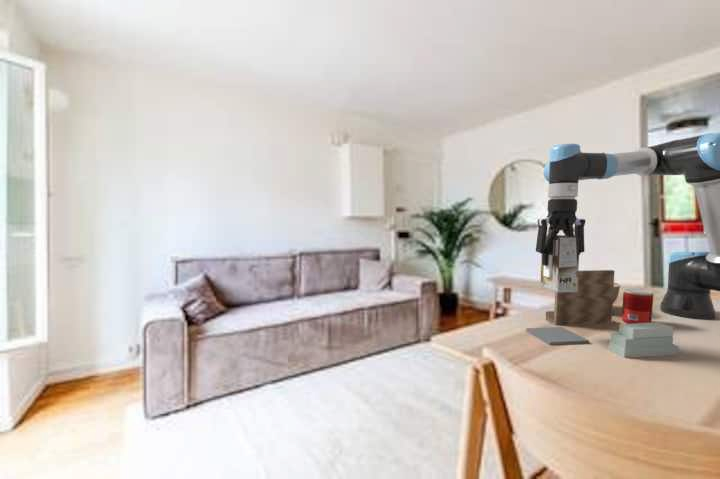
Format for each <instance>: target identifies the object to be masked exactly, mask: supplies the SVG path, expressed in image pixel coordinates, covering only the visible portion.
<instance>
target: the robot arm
mask: <svg viewBox="0 0 720 479" xmlns="http://www.w3.org/2000/svg"><path fill="white" fill-rule="evenodd" d="M549 155H550V156H549V161H548V163H546V165H545V166H544V168H543V177H544V178H545V180H546V181H547V182H548V192H547V197H548V198H549V199H548V200H547V213H548V214H547V216H546V217H545V218H539V219H537V226H538V229H537V237H536V245H535V252H536V253H539V254H540V255H541V258H542V265H544V274H543V276H546V277H551V276H552V256H553V255H549V254H550V252H551V249H552V247H553V237H554V236H557V235H559V233H560V231H562V233H563V234H564V235H565V236H574V237H580V247H579V256H580V255H581V253H582V254H583V253H584V252H585V226H586V225H585V224H586V219H585V218H578V217H577V216H576V213H577V211H578V200H577V199H576V198H577V197H578V194H579V192H578V191H579V181H586V180H608V179H611V178H612V177H618V176H627V175H637V176H641V177H643V176H644V177H645V176H681V175H683V176H684V180H685V182H686V184H688V185H690V186H692V187H693V189H694V194H695V196H696V201H697V204H698V205H697V206H698V208H699V212H700V216H701V220H702V224H703V228H704V232H705V235H706V240H707V243H708V247H709V251H675V252H673V253H671V254H670V256H669V262H668V277H667V278H668V279H667V289H666V292H665V294H664V297H663V298H662V301H661V302H660V305H659V310H660V311H661V312H663V313H665V314H668V315H673V316H677V317H683V318H690V319H696V320H697V319H698V320H712V319H716V309H715V308H714V303H713V300H712V298H711V291H715V292H720V132H716V133H705V134H700V135H697V136H690V137H687V138H681V139H675V140H671V141H667V142H663V143H660V144H655V145H652V146H645V147H640V148H638V149H636V150H634V151H626V152H619V153H618V152H617V153H615V152H614V153H605V152H583V151H582V150H581V145H580V144H579V143H561V144H556V145H554V146H553V147H551V149H550V154H549ZM548 225H549V226H548ZM573 225H574V226H573ZM546 235H547V237H546Z"/></svg>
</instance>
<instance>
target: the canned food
mask: <svg viewBox="0 0 720 479" xmlns="http://www.w3.org/2000/svg"><path fill="white" fill-rule="evenodd" d="M653 303H654V291H651V290H647V289H641V288H624V289H623V294H622V306H621V307H622V310H621V319H622V322H623V323H624V324H632V323H652V320H653V305H654V304H653Z"/></svg>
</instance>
